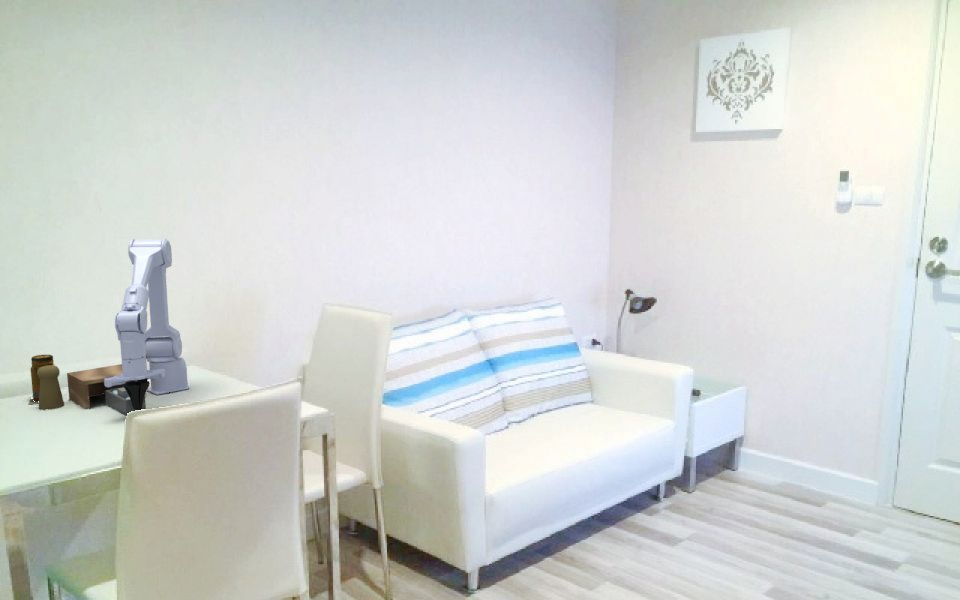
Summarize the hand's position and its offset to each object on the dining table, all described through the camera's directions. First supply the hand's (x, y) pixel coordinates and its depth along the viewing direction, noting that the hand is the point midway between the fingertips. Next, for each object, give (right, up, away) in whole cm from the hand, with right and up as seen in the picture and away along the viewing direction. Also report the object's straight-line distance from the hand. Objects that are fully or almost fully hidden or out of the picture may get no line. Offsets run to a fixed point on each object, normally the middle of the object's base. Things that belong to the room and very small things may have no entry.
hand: (137, 409), depth 199 cm
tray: (-6, -1, +6) cm, 9 cm away
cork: (-27, -1, +9) cm, 28 cm away
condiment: (-32, 0, +16) cm, 36 cm away
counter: (-15, +1, +16) cm, 22 cm away
